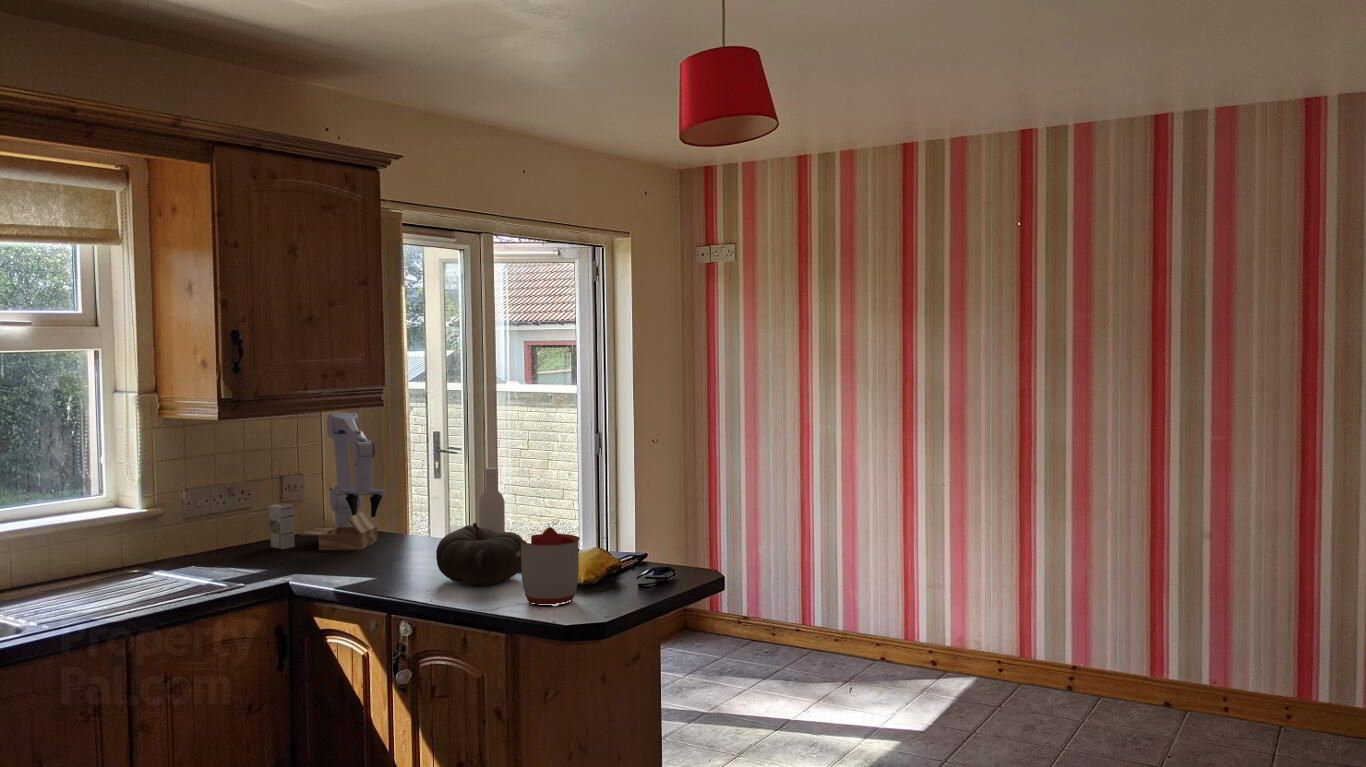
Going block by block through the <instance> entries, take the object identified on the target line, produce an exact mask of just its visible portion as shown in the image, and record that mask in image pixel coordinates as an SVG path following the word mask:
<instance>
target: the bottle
mask: <svg viewBox="0 0 1366 767" xmlns="http://www.w3.org/2000/svg"><path fill="white" fill-rule="evenodd" d="M498 470H499V469H498V468H497V467H487V468H485V472H484V474H485V491H484V492H483V493H482V494H481V496H480V499H479V502H478V511H479V512H478V517H479V519H478V520H479V521H478V523H479V524H478V527H480V528H482V529H483V528H487V529H489V530H492V531H494V532H497V533H502V532H506V521H505V519H506V518H505V516H506V515H505V514H506V512H505V511H506V510H505V509H506V508H505V507H506V506H505V504H506V503H505V498H504V495H503V494H502V493H501V492H500V491H499V490H498V488H499V486H498V480H499V479H498V474H499V471H498Z"/></svg>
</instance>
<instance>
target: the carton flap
mask: <svg viewBox="0 0 1366 767" xmlns="http://www.w3.org/2000/svg"><path fill="white" fill-rule="evenodd" d="M347 520H348V521H349V522H350V523H351V525H352V526H353V527H354V528H355V529H356V530H357V531H358V533H359V534H360V535H361V534H363V533H365V532H367V531H369V530H372V529H374V528H376V527H377V528H378V525H377V524H376V523H375V522H374V521H373V519H372V517H370V516H369V515H368V514H367V513H366V512H365V511H362V512H358V514H356V515H354V516H351V517H349V518H347Z"/></svg>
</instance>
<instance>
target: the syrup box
mask: <svg viewBox="0 0 1366 767" xmlns="http://www.w3.org/2000/svg"><path fill="white" fill-rule="evenodd" d="M294 513H295V511H294V504H288V503H276V504H275V503H274V504H272V505H271V504H270V505H269V533H270V534H269V536H270V537H269V538H270V539H269V540H270V548H272V549H279V550H286V549H290V548H295V514H294Z"/></svg>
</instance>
